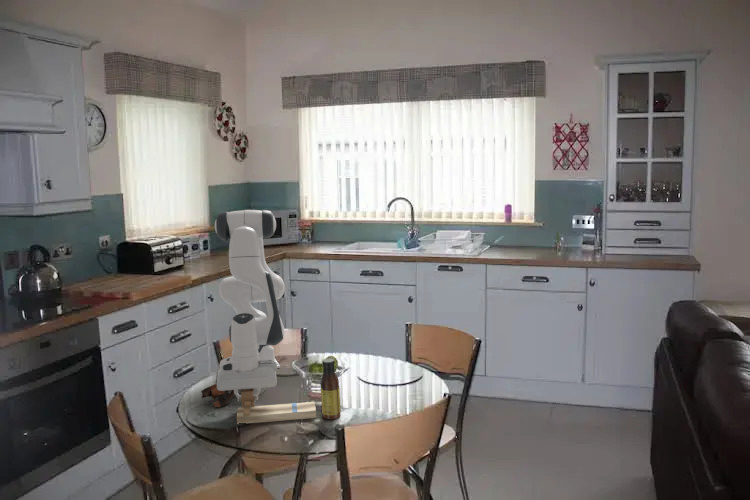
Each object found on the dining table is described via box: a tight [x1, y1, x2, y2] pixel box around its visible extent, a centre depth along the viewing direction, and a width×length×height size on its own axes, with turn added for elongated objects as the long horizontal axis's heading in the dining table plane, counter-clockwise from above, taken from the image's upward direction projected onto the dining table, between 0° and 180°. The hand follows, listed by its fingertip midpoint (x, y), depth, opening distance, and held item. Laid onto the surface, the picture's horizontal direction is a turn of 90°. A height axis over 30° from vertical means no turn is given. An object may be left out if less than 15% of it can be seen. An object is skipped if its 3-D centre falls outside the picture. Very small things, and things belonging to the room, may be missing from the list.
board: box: [236, 401, 317, 425], centre depth 229 cm, size 8×26×3 cm, turn 98°
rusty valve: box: [200, 383, 235, 408], centre depth 242 cm, size 12×10×8 cm
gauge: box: [240, 388, 256, 416], centre depth 229 cm, size 15×4×8 cm, turn 8°
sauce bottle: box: [320, 357, 342, 420], centre depth 226 cm, size 7×6×20 cm
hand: (248, 400), depth 234 cm, fingers closed on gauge, 4 cm apart
